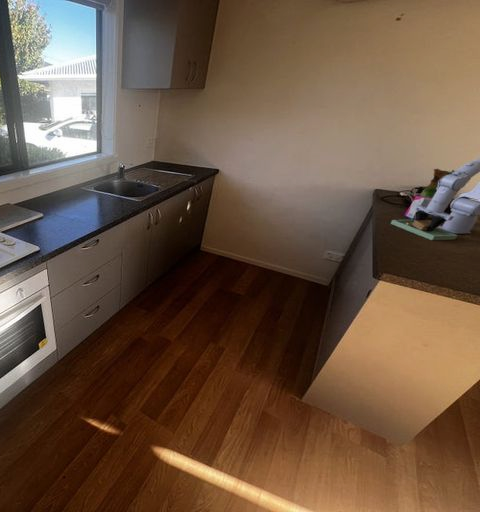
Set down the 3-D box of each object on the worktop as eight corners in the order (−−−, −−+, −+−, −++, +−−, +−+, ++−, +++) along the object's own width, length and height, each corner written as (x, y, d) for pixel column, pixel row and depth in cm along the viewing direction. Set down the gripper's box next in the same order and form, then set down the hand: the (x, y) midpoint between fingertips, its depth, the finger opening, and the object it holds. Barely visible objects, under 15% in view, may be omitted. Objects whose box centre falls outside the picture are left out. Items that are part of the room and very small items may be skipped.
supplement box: (424, 220, 152) (437, 199, 147) (411, 219, 153) (423, 198, 148) (416, 216, 157) (428, 196, 152) (403, 215, 158) (415, 195, 153)
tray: (411, 223, 149) (413, 219, 148) (455, 239, 132) (458, 235, 131) (390, 223, 148) (392, 219, 147) (431, 240, 131) (434, 236, 130)
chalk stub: (411, 223, 146) (413, 222, 145) (411, 225, 145) (414, 224, 144) (405, 223, 146) (407, 222, 145) (405, 225, 145) (408, 224, 144)
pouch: (446, 219, 155) (477, 172, 143) (428, 219, 154) (457, 172, 141) (423, 211, 165) (450, 167, 152) (405, 212, 163) (431, 167, 151)
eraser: (425, 225, 142) (430, 219, 139) (434, 231, 138) (439, 225, 136) (410, 226, 141) (415, 220, 139) (418, 232, 138) (424, 226, 135)
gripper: (415, 196, 139) (400, 222, 145) (450, 207, 126) (432, 235, 133) (428, 196, 139) (412, 222, 146) (464, 206, 127) (445, 234, 133)
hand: (422, 228), depth 139 cm, fingers closed on eraser, 5 cm apart
